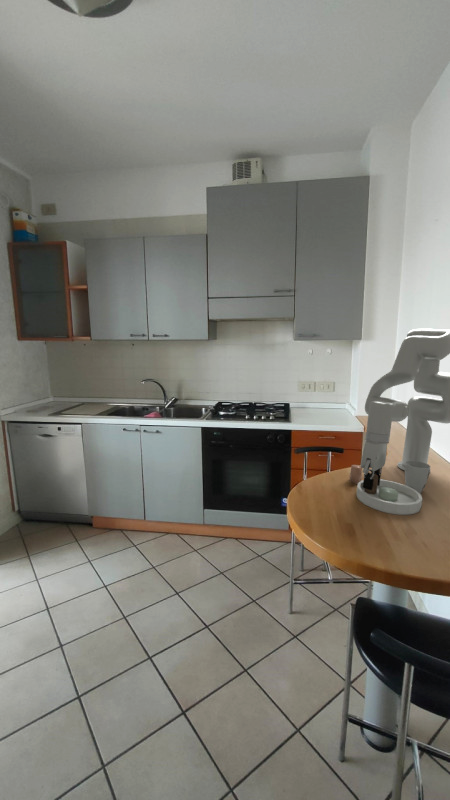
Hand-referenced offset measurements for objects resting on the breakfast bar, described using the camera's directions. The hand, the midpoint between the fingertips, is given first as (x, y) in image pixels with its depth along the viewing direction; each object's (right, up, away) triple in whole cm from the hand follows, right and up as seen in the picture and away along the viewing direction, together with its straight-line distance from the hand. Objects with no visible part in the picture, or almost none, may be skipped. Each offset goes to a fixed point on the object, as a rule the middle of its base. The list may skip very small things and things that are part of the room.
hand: (371, 486), depth 126 cm
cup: (+18, -3, +6) cm, 20 cm away
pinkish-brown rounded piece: (-1, -1, +12) cm, 12 cm away
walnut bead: (0, -2, 0) cm, 2 cm away
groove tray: (+4, -4, -4) cm, 7 cm away
